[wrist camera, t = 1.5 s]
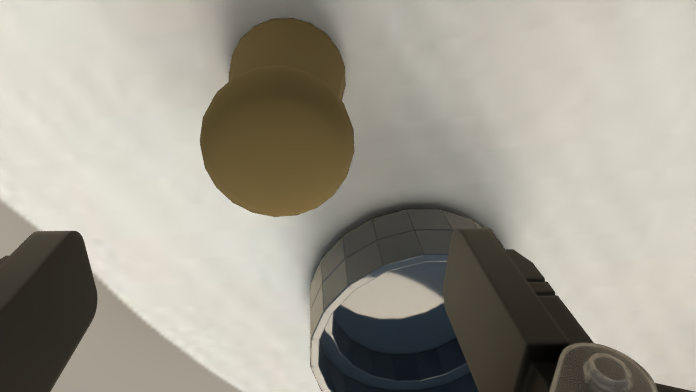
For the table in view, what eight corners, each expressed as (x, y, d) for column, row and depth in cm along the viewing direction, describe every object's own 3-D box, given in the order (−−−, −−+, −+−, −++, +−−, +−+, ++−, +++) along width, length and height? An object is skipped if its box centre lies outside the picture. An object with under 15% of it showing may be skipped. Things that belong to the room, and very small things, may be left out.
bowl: (311, 201, 27) (312, 254, 23) (525, 203, 29) (569, 253, 24) (308, 362, 34) (308, 430, 29) (484, 357, 35) (513, 422, 30)
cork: (229, 129, 25) (180, 240, 15) (228, 10, 22) (168, 54, 13) (339, 138, 26) (359, 248, 16) (351, 24, 23) (385, 75, 13)
